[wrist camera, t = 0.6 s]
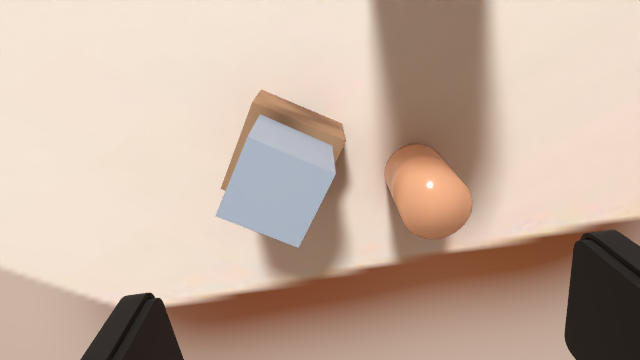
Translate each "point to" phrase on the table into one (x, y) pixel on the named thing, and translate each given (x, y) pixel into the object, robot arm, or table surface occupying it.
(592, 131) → the table surface
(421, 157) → the terracotta capsule
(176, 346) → the robot arm
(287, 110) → the walnut base block
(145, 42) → the table surface
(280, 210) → the slate blue cube
